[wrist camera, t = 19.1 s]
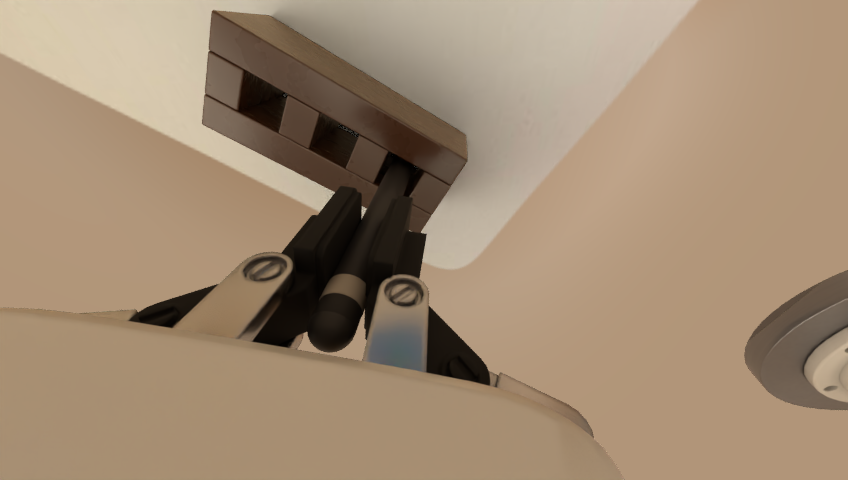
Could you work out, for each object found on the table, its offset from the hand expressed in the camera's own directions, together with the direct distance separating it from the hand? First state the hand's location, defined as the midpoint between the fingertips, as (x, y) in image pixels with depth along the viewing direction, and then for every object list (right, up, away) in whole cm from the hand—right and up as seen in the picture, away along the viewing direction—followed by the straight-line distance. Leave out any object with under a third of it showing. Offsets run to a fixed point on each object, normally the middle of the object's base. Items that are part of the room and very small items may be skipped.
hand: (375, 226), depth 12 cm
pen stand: (-2, +7, +7) cm, 10 cm away
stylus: (+1, +4, +6) cm, 8 cm away
